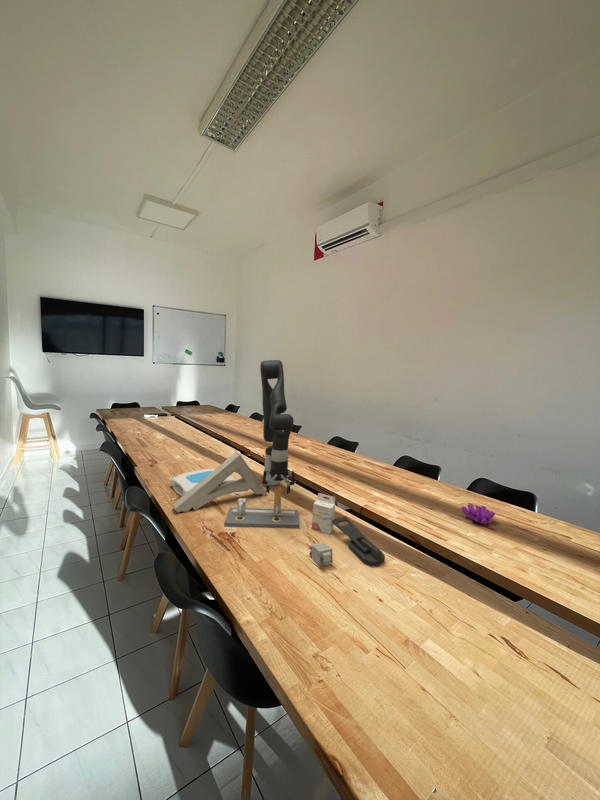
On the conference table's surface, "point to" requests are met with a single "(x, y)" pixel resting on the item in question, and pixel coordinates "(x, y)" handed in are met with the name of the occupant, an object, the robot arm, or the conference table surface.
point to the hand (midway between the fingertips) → (278, 492)
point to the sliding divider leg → (277, 501)
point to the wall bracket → (211, 490)
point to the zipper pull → (360, 544)
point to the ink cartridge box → (323, 513)
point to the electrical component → (320, 552)
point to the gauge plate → (261, 517)
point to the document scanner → (192, 480)
